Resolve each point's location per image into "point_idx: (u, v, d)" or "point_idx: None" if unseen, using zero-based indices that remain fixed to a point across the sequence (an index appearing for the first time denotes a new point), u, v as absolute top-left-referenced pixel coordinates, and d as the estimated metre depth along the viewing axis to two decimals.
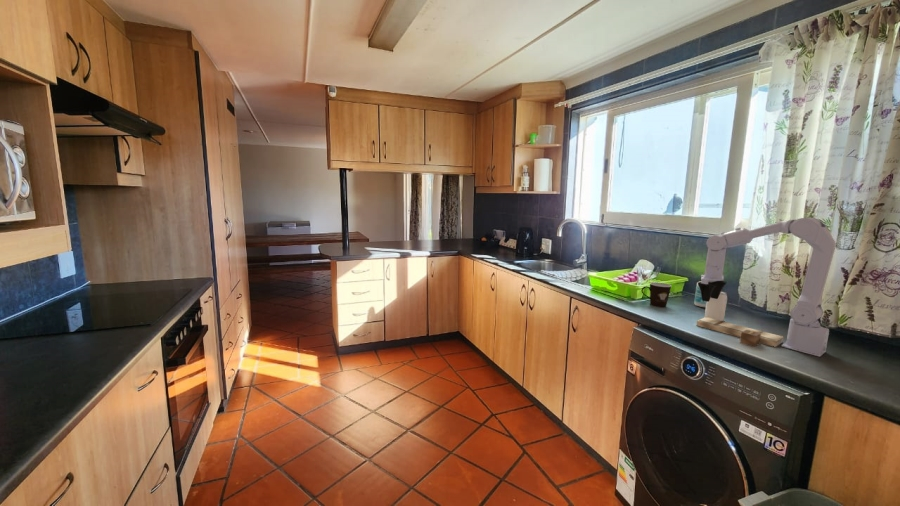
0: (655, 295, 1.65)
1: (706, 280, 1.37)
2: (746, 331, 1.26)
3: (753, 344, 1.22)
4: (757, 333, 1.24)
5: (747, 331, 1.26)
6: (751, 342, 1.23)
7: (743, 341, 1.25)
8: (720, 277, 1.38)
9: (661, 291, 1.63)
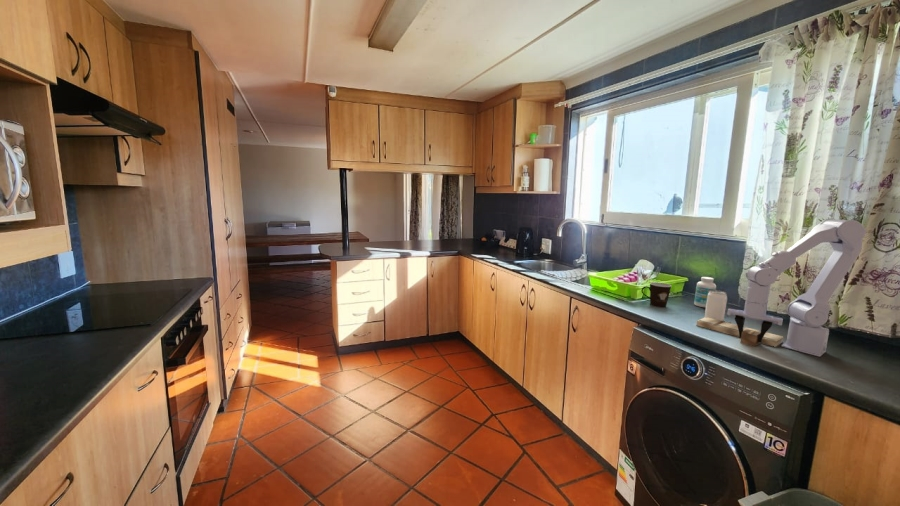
0: (655, 295, 1.65)
1: None
2: (746, 331, 1.26)
3: (753, 344, 1.22)
4: (757, 333, 1.24)
5: (747, 331, 1.26)
6: (751, 342, 1.23)
7: (744, 341, 1.25)
8: (750, 313, 1.22)
9: (661, 291, 1.63)
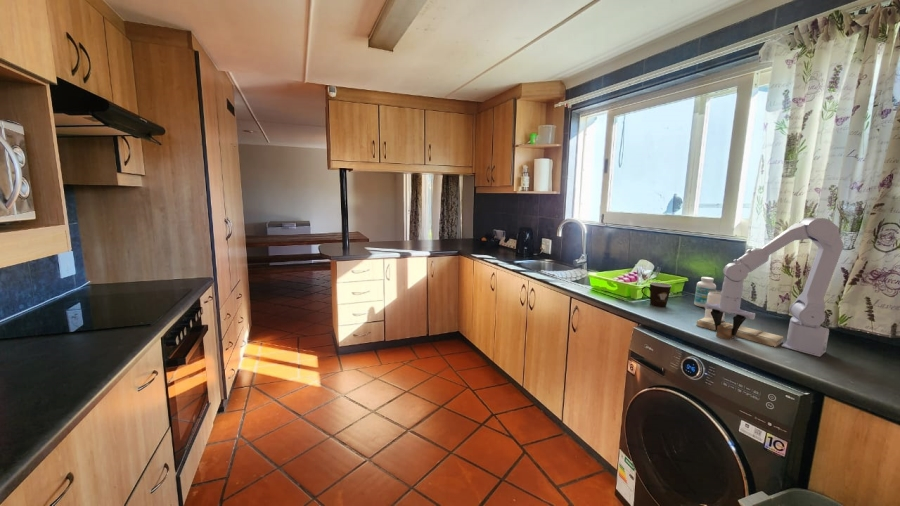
0: (655, 295, 1.65)
1: None
2: (722, 325, 1.31)
3: (728, 337, 1.28)
4: (732, 326, 1.30)
5: (723, 325, 1.31)
6: (726, 335, 1.28)
7: (719, 334, 1.30)
8: (723, 307, 1.29)
9: (661, 291, 1.63)
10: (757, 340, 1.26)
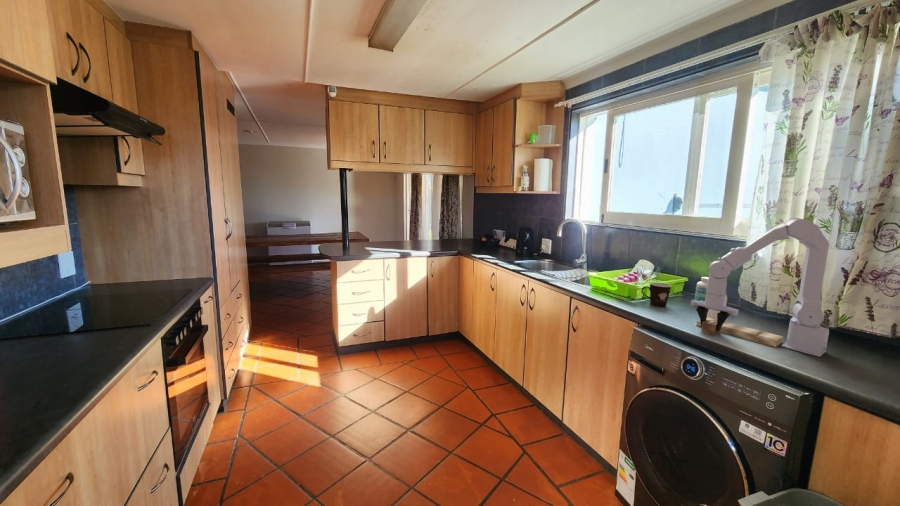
0: (655, 295, 1.65)
1: None
2: (707, 321, 1.35)
3: (712, 333, 1.32)
4: (716, 323, 1.34)
5: (708, 321, 1.35)
6: (710, 331, 1.32)
7: (704, 330, 1.34)
8: (708, 304, 1.32)
9: (661, 291, 1.63)
10: (757, 340, 1.26)
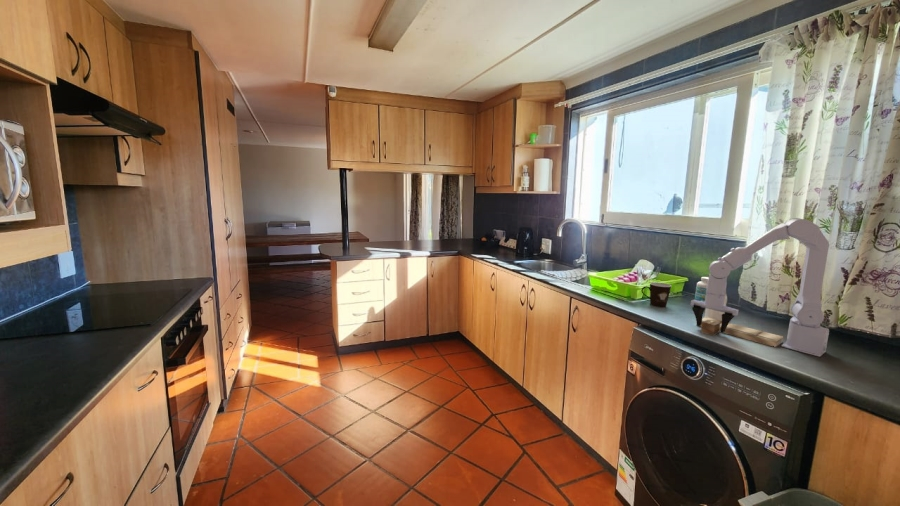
0: (655, 295, 1.65)
1: None
2: (706, 321, 1.35)
3: (712, 333, 1.32)
4: (716, 323, 1.34)
5: (707, 321, 1.35)
6: (710, 331, 1.32)
7: (704, 330, 1.34)
8: (708, 304, 1.32)
9: (661, 291, 1.63)
10: (757, 340, 1.26)
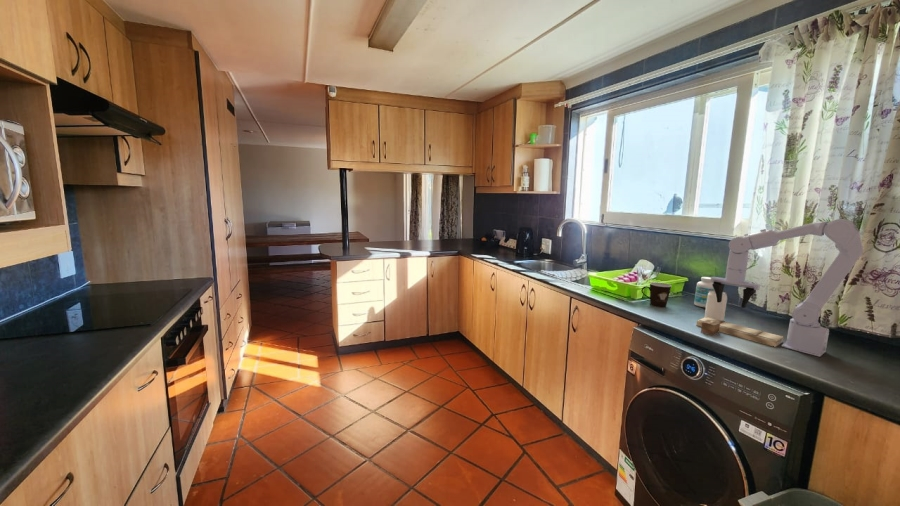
0: (655, 295, 1.65)
1: None
2: (706, 321, 1.35)
3: (712, 333, 1.32)
4: (716, 323, 1.34)
5: (707, 321, 1.35)
6: (710, 331, 1.32)
7: (704, 330, 1.34)
8: (729, 280, 1.33)
9: (661, 291, 1.63)
10: (757, 340, 1.26)
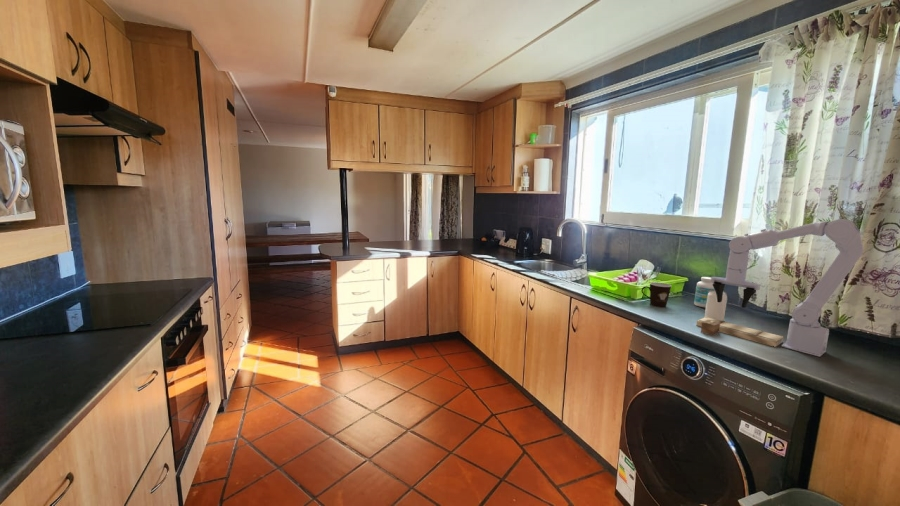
0: (655, 295, 1.65)
1: None
2: (706, 321, 1.35)
3: (712, 333, 1.32)
4: (716, 323, 1.34)
5: (707, 321, 1.35)
6: (710, 331, 1.32)
7: (704, 330, 1.34)
8: (729, 279, 1.33)
9: (661, 291, 1.63)
10: (757, 340, 1.26)
